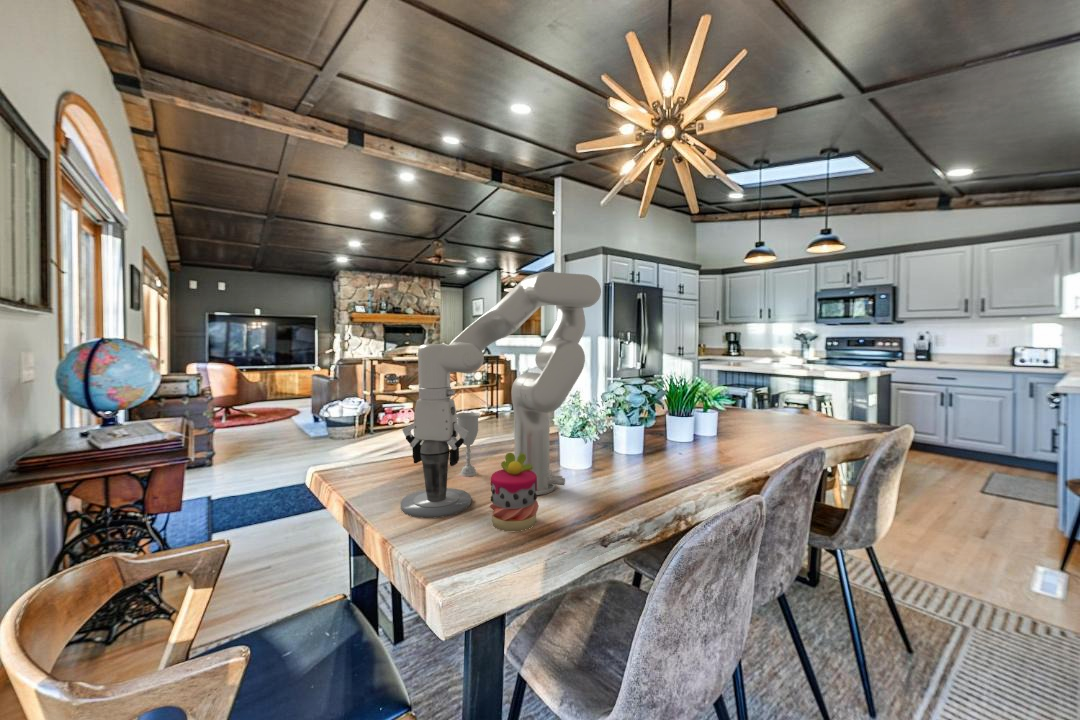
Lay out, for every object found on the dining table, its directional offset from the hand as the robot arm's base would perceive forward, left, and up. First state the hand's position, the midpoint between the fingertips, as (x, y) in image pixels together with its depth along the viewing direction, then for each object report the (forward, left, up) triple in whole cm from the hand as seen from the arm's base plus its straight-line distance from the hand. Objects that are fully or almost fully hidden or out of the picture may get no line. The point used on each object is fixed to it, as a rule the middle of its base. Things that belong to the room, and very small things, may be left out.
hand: (435, 463), depth 114 cm
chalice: (+2, -25, -10) cm, 27 cm away
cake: (-22, +6, -11) cm, 25 cm away
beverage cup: (0, 0, -9) cm, 9 cm away
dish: (0, 0, -10) cm, 10 cm away
